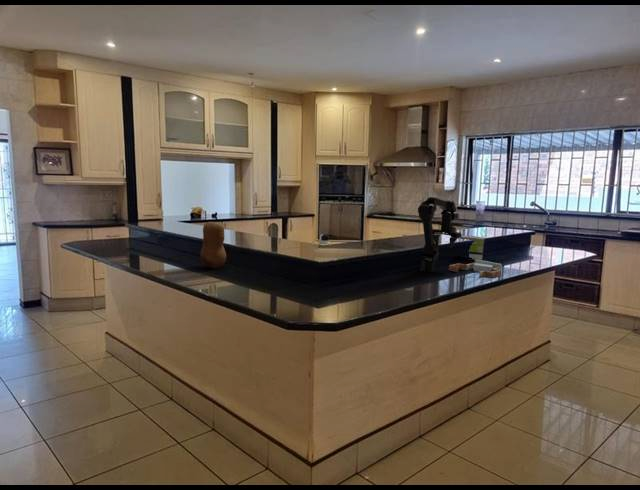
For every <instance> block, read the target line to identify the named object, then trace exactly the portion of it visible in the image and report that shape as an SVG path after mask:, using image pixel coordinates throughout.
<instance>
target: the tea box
mask: <svg viewBox="0 0 640 490" xmlns="http://www.w3.org/2000/svg"><path fill="white" fill-rule="evenodd" d="M460 239H469V240H474V242H473V243H472V245H471V246H470V249H469V251H468V252H469V257H470V258H472V259H471V260H475V259H477V260H482V261H483V254H484V245H485V238H484V237H483V236H477V235H475V236H474V235H464V234H463V235H461V237H460Z"/></svg>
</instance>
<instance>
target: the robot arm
mask: <svg viewBox="0 0 640 490" xmlns="http://www.w3.org/2000/svg"><path fill="white" fill-rule="evenodd" d="M437 207H439V209H441V211H440V215H441V217H440V218H441V219H440V221H441V222H440V223H439V225H440V229H438V228H434V227H433V218H434V216H435V212H436V211H437ZM417 213H418V217H419V219H420V220H421V221H422V226H423V227H422V228H423V236H424V246H423V247H422V252H421V253H420V255H419V261H421V268H420V269H419V271H421V272H423V273H435V272H436V270H435V266H436V263H435V262H437V261H438V259H439V255H440V253H439V242H440V237H441V235H443V236H445V235H446V236H449V249H451V250H452V248H453V246H454V244H455V242H456V240H458V239H460V238H461V235H462V233H461V232H459V231H457V228H456V227H455V226H453V222H455V221H457V220H458V219H459V218H460V215H459V213H458V211H457V208H456V204H455V202H454V200H446V199H441V198H438V197H435V196H433V197H432V196H430V197H428V198H427V199H426V200H424V201H423V202H421V203H420V205H419V206H418V208H417Z"/></svg>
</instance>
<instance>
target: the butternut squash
mask: <svg viewBox="0 0 640 490" xmlns="http://www.w3.org/2000/svg"><path fill="white" fill-rule="evenodd" d="M202 234H203V235H202V236H203V237H202V247H201V250H200V261H201V263H202V264H203V265H204V266H205V267H208V268H210V269H218V268H221V267H222V266H223V265H224V264H225V262H226V260H227V253H226V250H225V247H224V242H225V227H224V225H223V224H222V223H220V222H217V221H208V222H206V223H204V225H203V228H202Z"/></svg>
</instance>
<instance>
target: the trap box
mask: <svg viewBox="0 0 640 490" xmlns="http://www.w3.org/2000/svg"><path fill="white" fill-rule="evenodd" d="M474 264H475V262H471V263H468V264H463V263H455V264H450V265H449V266H448V271H451V272H455V273H458V272H459V270H462V271H463V270H464V271H469V270H472V269H473V270H474ZM501 276H502V269H501V270H500V268H499V267H498V268H494V269H492V270H491V272H489V271H480V272H479V275H478V277H479V278H484V277H486V278H491V279H494V278H497V277H501Z"/></svg>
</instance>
